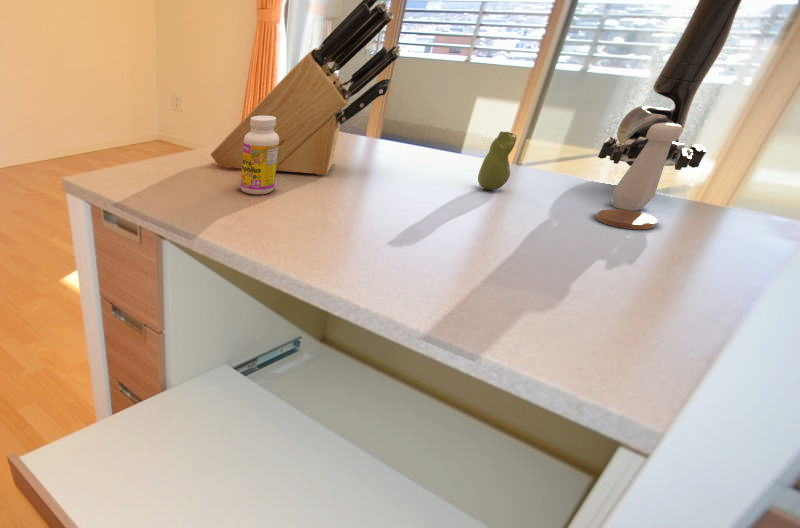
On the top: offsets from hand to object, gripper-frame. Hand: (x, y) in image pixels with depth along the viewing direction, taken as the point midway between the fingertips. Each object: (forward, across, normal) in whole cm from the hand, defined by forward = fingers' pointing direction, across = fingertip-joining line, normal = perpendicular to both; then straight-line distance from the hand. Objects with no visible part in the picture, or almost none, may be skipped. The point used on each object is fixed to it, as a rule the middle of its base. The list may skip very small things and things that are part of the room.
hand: (649, 160), depth 90 cm
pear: (+1, -22, +8) cm, 23 cm away
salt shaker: (+1, 0, +8) cm, 8 cm away
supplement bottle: (+25, -60, +8) cm, 65 cm away
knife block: (+5, -61, +8) cm, 62 cm away
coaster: (+10, 0, +8) cm, 12 cm away
